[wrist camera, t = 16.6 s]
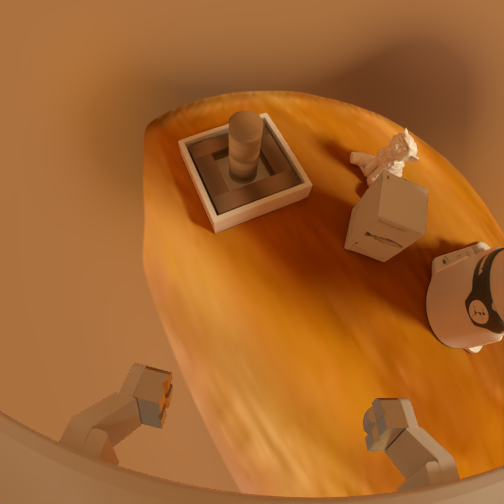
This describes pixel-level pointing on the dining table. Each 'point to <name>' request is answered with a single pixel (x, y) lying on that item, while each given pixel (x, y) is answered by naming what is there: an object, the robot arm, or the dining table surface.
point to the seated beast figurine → (387, 157)
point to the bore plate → (230, 200)
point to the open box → (255, 207)
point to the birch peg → (244, 146)
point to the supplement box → (387, 217)
